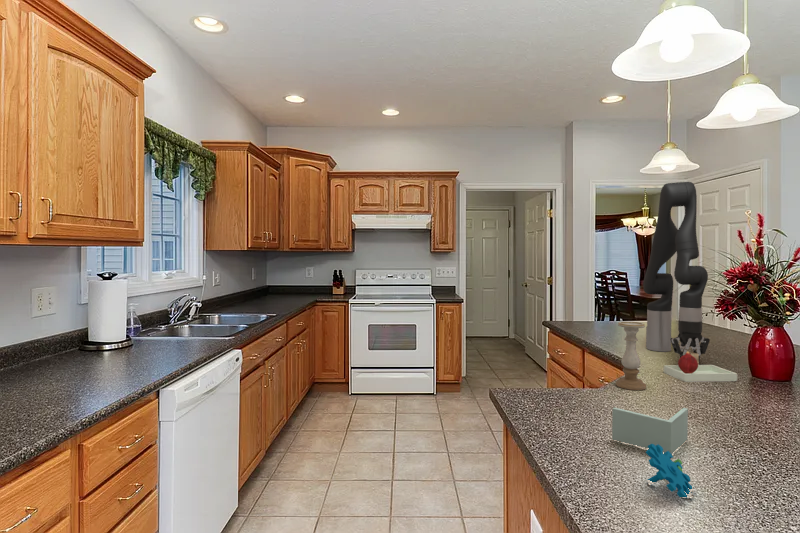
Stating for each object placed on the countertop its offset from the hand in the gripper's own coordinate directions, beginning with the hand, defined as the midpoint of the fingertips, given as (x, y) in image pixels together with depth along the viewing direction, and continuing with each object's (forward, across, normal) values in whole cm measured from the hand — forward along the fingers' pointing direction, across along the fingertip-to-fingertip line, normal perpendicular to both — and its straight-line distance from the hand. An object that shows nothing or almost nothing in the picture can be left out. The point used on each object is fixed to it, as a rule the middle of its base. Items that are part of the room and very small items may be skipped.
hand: (689, 364), depth 170 cm
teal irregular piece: (+1, +61, +86) cm, 105 cm away
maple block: (+1, 0, 0) cm, 1 cm away
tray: (0, +6, +14) cm, 15 cm away
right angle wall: (+1, +52, +65) cm, 84 cm away
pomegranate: (0, +10, +14) cm, 17 cm away
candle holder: (+1, +35, +24) cm, 42 cm away
